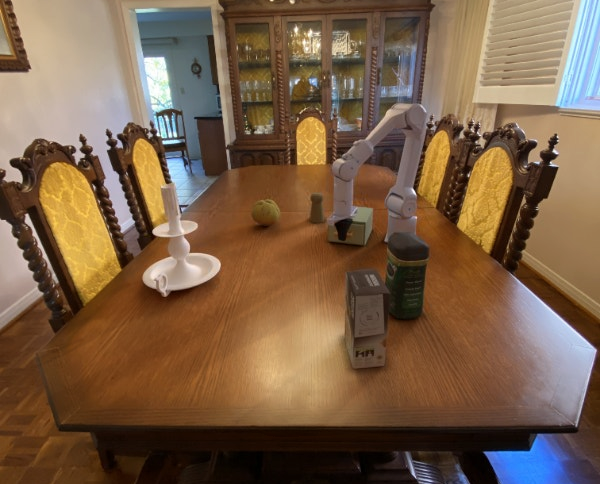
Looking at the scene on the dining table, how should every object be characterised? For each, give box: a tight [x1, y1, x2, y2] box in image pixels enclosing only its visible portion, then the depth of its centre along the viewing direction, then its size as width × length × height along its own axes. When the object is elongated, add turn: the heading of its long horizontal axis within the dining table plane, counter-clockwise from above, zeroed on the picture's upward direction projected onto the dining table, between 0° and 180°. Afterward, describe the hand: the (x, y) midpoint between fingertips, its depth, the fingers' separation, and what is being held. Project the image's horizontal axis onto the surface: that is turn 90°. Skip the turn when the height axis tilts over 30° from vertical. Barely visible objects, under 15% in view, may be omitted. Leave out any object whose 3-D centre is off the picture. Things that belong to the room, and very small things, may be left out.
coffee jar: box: [384, 231, 430, 320], centre depth 78 cm, size 10×8×19 cm
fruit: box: [250, 198, 281, 227], centre depth 132 cm, size 11×12×10 cm
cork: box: [309, 192, 326, 224], centre depth 136 cm, size 6×6×11 cm
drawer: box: [328, 224, 364, 246], centre depth 118 cm, size 18×11×7 cm, turn 160°
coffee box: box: [343, 268, 390, 369], centre depth 66 cm, size 9×6×16 cm
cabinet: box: [327, 206, 374, 247], centre depth 121 cm, size 15×13×8 cm
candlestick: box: [141, 182, 221, 298], centre depth 90 cm, size 21×25×28 cm
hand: (342, 240), depth 110 cm, fingers closed, pressing on drawer
